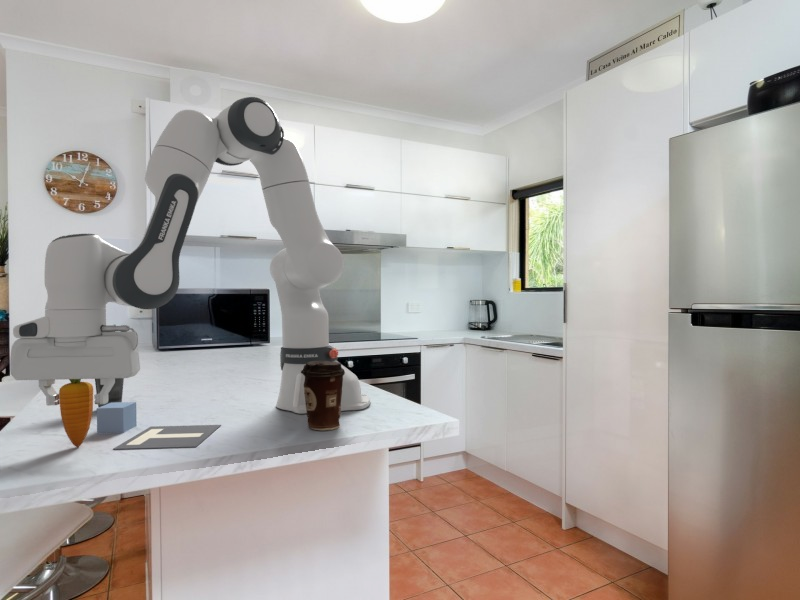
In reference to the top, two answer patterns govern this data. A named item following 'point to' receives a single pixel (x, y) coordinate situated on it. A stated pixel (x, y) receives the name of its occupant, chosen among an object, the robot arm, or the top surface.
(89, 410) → the carrot
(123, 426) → the slate cube
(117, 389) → the beverage cup
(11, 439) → the top surface
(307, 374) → the coffee cup
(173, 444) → the letter mat
